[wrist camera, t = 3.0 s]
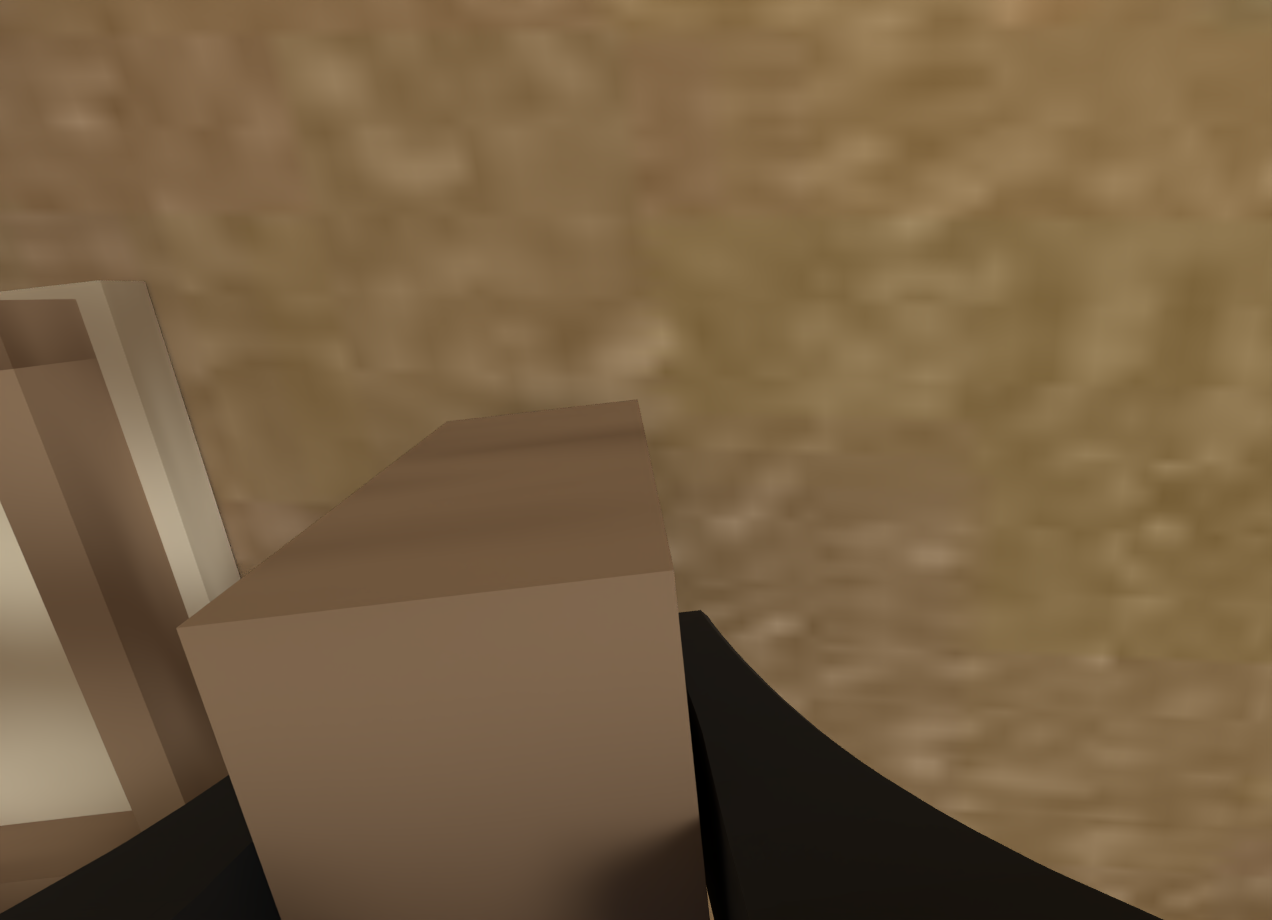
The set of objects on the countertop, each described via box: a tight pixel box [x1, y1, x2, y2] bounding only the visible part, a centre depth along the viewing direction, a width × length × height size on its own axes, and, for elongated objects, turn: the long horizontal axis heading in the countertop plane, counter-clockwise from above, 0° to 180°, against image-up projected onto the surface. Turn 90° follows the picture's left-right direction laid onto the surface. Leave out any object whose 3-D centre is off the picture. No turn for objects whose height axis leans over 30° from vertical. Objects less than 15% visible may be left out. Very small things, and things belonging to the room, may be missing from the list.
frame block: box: [176, 400, 710, 920], centre depth 9 cm, size 8×4×7 cm, turn 6°
